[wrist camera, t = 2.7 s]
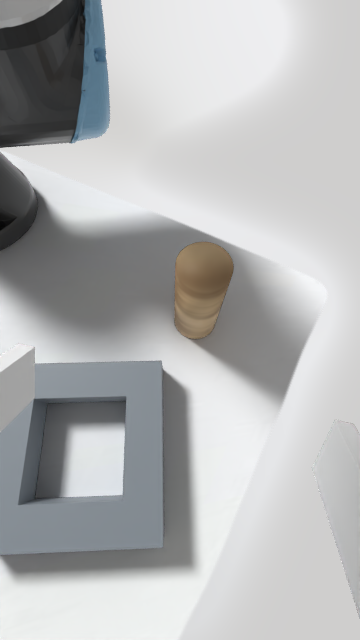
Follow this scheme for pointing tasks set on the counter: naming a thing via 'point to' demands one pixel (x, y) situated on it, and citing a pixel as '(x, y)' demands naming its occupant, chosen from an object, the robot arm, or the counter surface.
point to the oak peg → (200, 287)
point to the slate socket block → (97, 511)
